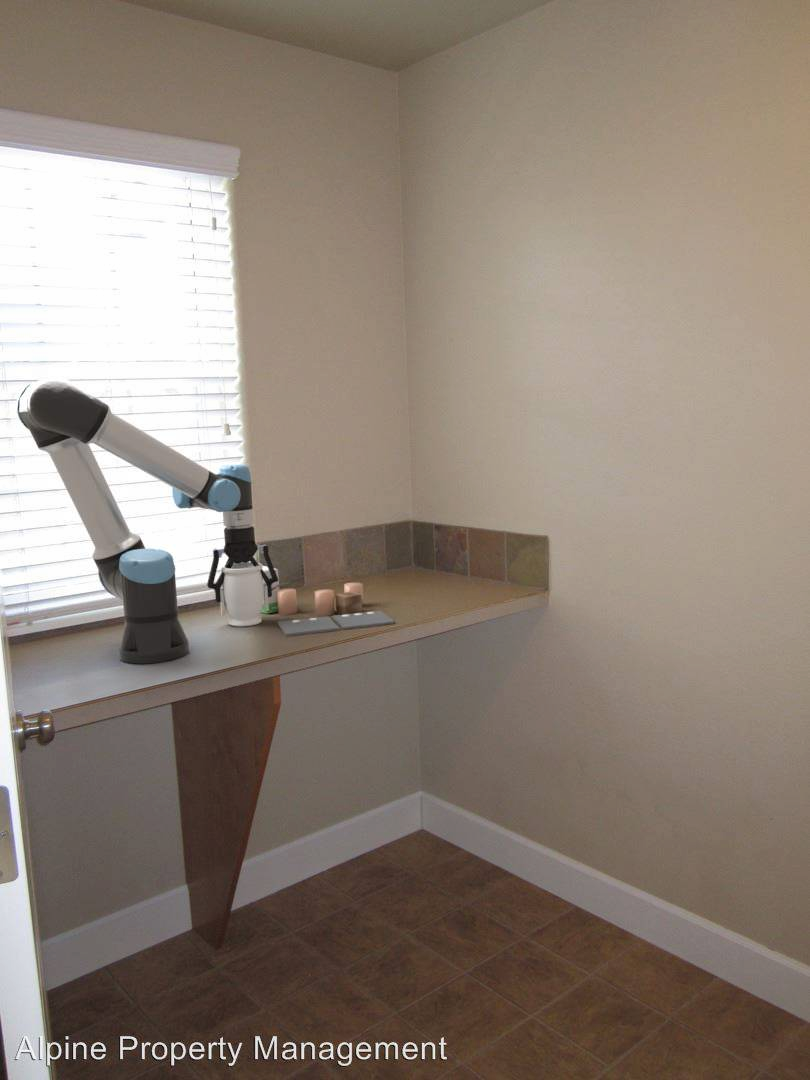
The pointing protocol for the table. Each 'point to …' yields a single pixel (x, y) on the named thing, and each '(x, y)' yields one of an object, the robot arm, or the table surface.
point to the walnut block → (348, 603)
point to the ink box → (273, 599)
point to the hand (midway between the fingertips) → (245, 612)
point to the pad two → (307, 626)
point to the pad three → (362, 619)
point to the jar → (243, 593)
